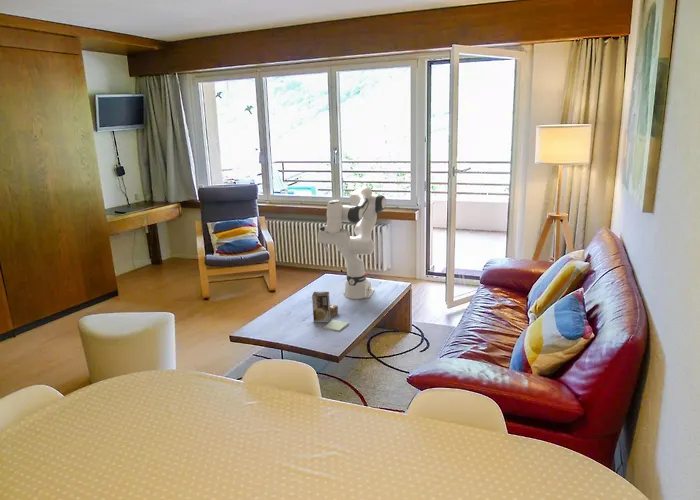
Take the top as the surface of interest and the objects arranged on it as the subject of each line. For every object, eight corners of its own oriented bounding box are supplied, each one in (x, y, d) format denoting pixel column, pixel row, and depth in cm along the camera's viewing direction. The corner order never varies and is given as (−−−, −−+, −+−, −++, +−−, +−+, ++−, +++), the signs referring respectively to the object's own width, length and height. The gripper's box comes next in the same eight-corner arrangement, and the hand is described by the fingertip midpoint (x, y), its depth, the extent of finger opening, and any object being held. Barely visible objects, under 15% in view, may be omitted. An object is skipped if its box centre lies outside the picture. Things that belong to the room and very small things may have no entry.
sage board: (333, 321, 283) (333, 319, 283) (348, 324, 279) (348, 322, 279) (323, 328, 274) (323, 327, 274) (339, 331, 270) (339, 330, 269)
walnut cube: (330, 312, 298) (330, 304, 296) (337, 313, 295) (337, 305, 294) (326, 315, 293) (325, 307, 292) (333, 316, 291) (333, 308, 290)
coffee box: (330, 317, 289) (329, 291, 285) (329, 322, 283) (327, 295, 278) (315, 317, 290) (313, 291, 286) (313, 322, 284) (311, 295, 279)
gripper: (352, 229, 286) (352, 252, 289) (321, 226, 296) (321, 249, 298) (347, 230, 281) (347, 254, 283) (316, 227, 290) (316, 251, 292)
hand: (333, 252), depth 291 cm, fingers open, 8 cm apart
